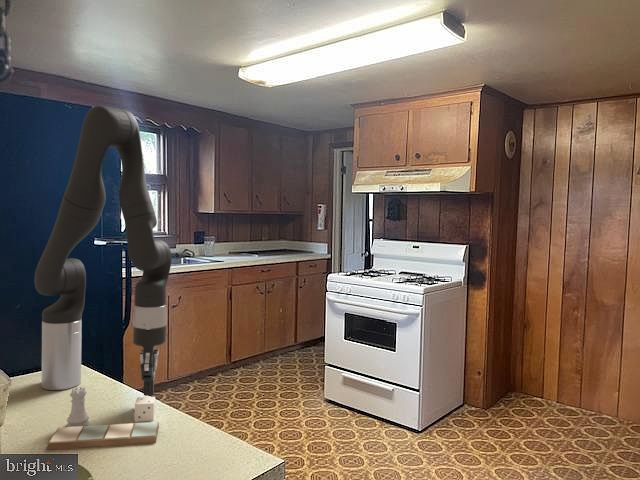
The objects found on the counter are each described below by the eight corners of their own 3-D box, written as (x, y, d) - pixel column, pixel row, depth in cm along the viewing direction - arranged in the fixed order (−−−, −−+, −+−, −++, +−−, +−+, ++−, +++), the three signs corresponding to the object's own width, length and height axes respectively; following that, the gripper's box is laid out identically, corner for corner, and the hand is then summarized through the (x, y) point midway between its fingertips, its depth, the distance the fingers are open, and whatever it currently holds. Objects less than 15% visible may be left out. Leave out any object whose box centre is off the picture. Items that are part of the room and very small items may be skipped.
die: (136, 414, 114) (137, 397, 113) (155, 413, 115) (155, 396, 114) (134, 422, 110) (134, 404, 109) (153, 420, 111) (153, 403, 110)
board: (58, 433, 102) (58, 426, 102) (158, 427, 107) (158, 421, 107) (47, 449, 96) (47, 442, 96) (155, 442, 100) (156, 435, 100)
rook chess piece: (80, 431, 104) (80, 394, 103) (61, 428, 105) (61, 391, 104) (93, 422, 108) (94, 386, 108) (75, 420, 109) (76, 384, 109)
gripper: (137, 317, 123) (135, 385, 124) (129, 330, 110) (128, 406, 111) (168, 317, 125) (166, 384, 126) (164, 329, 112) (162, 404, 113)
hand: (148, 394), depth 119 cm, fingers closed
